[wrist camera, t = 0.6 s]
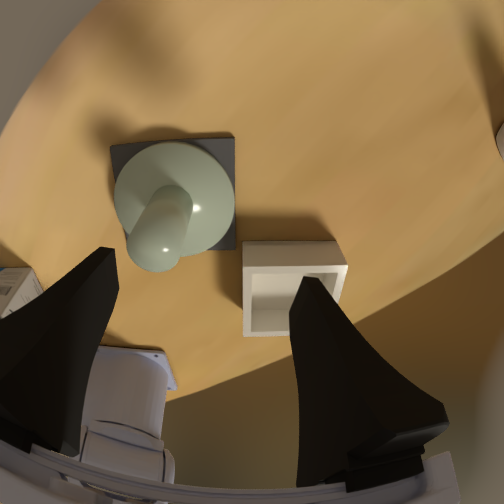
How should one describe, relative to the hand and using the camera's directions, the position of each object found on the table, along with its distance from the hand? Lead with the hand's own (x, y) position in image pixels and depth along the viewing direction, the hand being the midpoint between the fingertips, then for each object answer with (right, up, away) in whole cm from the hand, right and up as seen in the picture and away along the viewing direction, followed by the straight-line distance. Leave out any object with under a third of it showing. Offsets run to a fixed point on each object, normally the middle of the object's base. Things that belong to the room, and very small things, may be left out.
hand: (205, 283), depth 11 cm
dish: (+5, -1, +13) cm, 13 cm away
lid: (-3, +5, +8) cm, 10 cm away
